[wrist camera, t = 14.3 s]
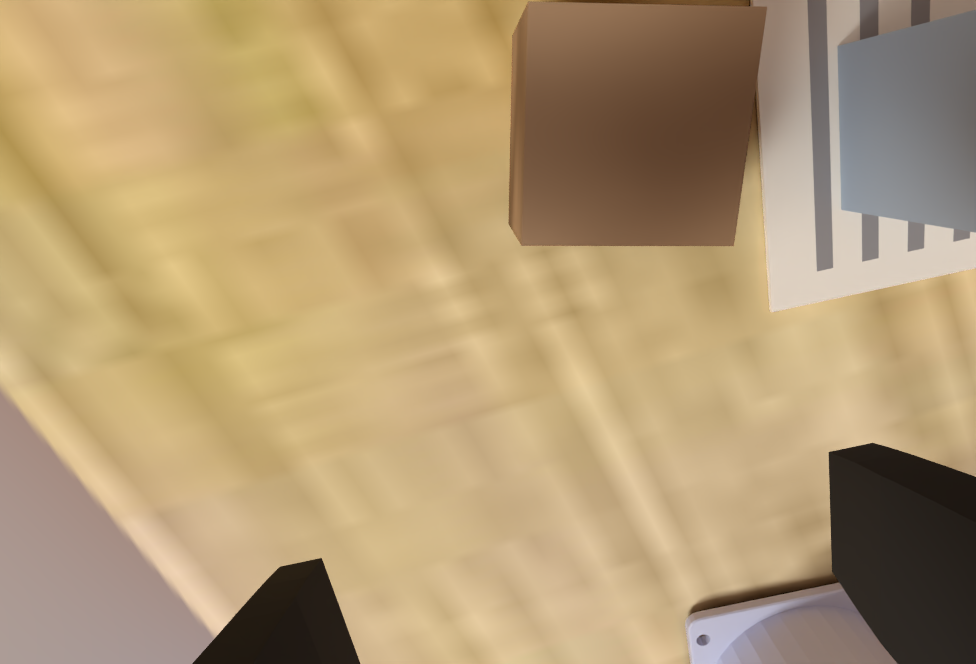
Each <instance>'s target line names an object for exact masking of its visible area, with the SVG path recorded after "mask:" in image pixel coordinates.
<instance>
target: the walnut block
mask: <svg viewBox="0 0 976 664" xmlns="http://www.w3.org/2000/svg"><path fill="white" fill-rule="evenodd" d="M766 13H767V7H761V6H714V5H666V4H619V3H571V2H528V3H527V5H526V8H525V10H524V12H523V14H522V16H521V18H520V20H519V23H518V25H517V27H516V29H515V31H514V33H513V35H512V83H511V132H510V182H509V225H510V227H511V229H512V230H513V232H514V234H515V235H516V237H517V239H518V240H519V242H520V244H521V245H522V246H734V240H735V233H736V226H737V219H738V212H739V205H740V198H741V191H742V184H743V176H744V169H745V162H746V155H747V148H748V141H749V134H750V127H751V119H752V112H753V105H754V98H755V91H756V84H757V77H758V70H759V63H760V55H761V48H762V41H763V34H764V27H765V20H766Z"/></svg>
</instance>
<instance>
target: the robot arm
mask: <svg viewBox="0 0 976 664" xmlns="http://www.w3.org/2000/svg"><path fill="white" fill-rule="evenodd" d="M829 478H830V513H831V549H832V572H833V574H834V575H835V577H836V578H837V580H838V581H839V583H834V584H829V585H825V586H820V587H815V588H810V589H805V590H800V591H795V592H791V593H786V594H781V595H776V596H771V597H766V598H761V599H757V600H752V601H747V602H742V603H737V604H732V605H728V606H723V607H718V608H713V609H708V610H703V611H698V612H695V613H692V614H691V615H690V616H688V618H687V619H686V622H685V627H686V635H687V642H688V649H689V657H690V664H976V477H974V476H972V475H969V474H966V473H963V472H960V471H958V470H955V469H952V468H949V467H946V466H943V465H940V464H938V463H935V462H932V461H929V460H926V459H923V458H920V457H917V456H914V455H911V454H908V453H905V452H902V451H899V450H895V449H892V448H889V447H885V446H882V445H878V444H875V443H870V444H866V445H861V446H856V447H851V448H846V449H842V450H837V451H832V452H829ZM700 635H703V636H701V637H699V636H700ZM193 664H360V662H359V659H358V656H357V653H356V651H355V648H354V645H353V643H352V640H351V637H350V634H349V632H348V629H347V626H346V623H345V621H344V618H343V615H342V612H341V610H340V607H339V604H338V602H337V599H336V596H335V593H334V591H333V588H332V585H331V582H330V580H329V577H328V574H327V571H326V569H325V566H324V563H323V561H322V558H320V559H315V560H310V561H306V562H301V563H296V564H291V565H286V566H282V567H279V568H278V569H277V570H276V571H275V572H274V573H273V574H272V575H271V576H270V577H269V578H268V579H267V580H266V582H265V583H264V584H263V585H262V586H261V587H260V588H259V589H258V590H257V591H256V592H255V594H254V595H253V596H252V597H251V598H250V599H249V600H248V601H247V603H246V604H245V605H244V606H243V607H242V608H241V609H240V610H239V612H238V613H237V614H236V615H235V616H234V617H233V618H232V620H231V621H230V622H229V623H228V624H227V625H226V626H225V627H224V629H223V630H222V631H221V632H220V633H219V634H218V635H217V637H216V638H215V639H214V640H213V641H212V642H211V643H210V644H209V646H208V647H207V648H206V649H205V650H204V651H203V652H202V653H201V655H200V656H199V657H198V658H197V659H196V660H195V661H194V662H193Z"/></svg>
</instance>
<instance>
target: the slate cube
mask: <svg viewBox="0 0 976 664" xmlns="http://www.w3.org/2000/svg"><path fill="white" fill-rule="evenodd" d="M838 89H839V131H840V173H841V210H845V211H851V212H857V213H863V214H868V215H874V216H880V217H886V218H892V219H898V220H904V221H910V222H916V223H922V224H928V225H934V226H940V227H946V228H951V229H957V230H963V231H969V232H975V233H976V10H972V11H969V12H965V13H961V14H957V15H953V16H950V17H946V18H942V19H938V20H934V21H931V22H927V23H923V24H919V25H915V26H912V27H908V28H904V29H900V30H896V31H893V32H889V33H885V34H881V35H877V36H874V37H870V38H866V39H862V40H858V41H855V42H851V43H847V44H843V45H840V46H838Z"/></svg>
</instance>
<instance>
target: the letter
mask: <svg viewBox="0 0 976 664" xmlns="http://www.w3.org/2000/svg"><path fill="white" fill-rule="evenodd" d="M750 6H761V7H767V13H766V20H765V27H764V34H763V41H762V48H761V55H760V63H759V70H758V77H757V84H756V103H757V119H758V135H759V151H760V167H761V183H762V199H763V215H764V231H765V247H766V263H767V279H768V295H769V311H771V312H775V311H780V310H785V309H789V308H794V307H799V306H803V305H808V304H812V303H817V302H822V301H826V300H831V299H835V298H840V297H845V296H849V295H854V294H859V293H863V292H868V291H872V290H877V289H882V288H886V287H891V286H895V285H900V284H905V283H909V282H914V281H919V280H923V279H928V278H932V277H937V276H942V275H946V274H951V273H956V272H960V271H965V270H969V269H974V268H976V233H975V232H969V231H963V230H957V229H951V228H946V227H940V226H934V225H928V224H922V223H916V222H910V221H904V220H898V219H892V218H886V217H880V216H874V215H868V214H863V213H857V212H851V211H845V210H841V173H840V131H839V89H838V46H840V45H843V44H847V43H851V42H855V41H858V40H862V39H866V38H870V37H874V36H877V35H881V34H885V33H889V32H893V31H896V30H900V29H904V28H908V27H912V26H915V25H919V24H923V23H927V22H931V21H934V20H938V19H942V18H946V17H950V16H953V15H957V14H961V13H965V12H969V11H972V10H976V0H750Z"/></svg>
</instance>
